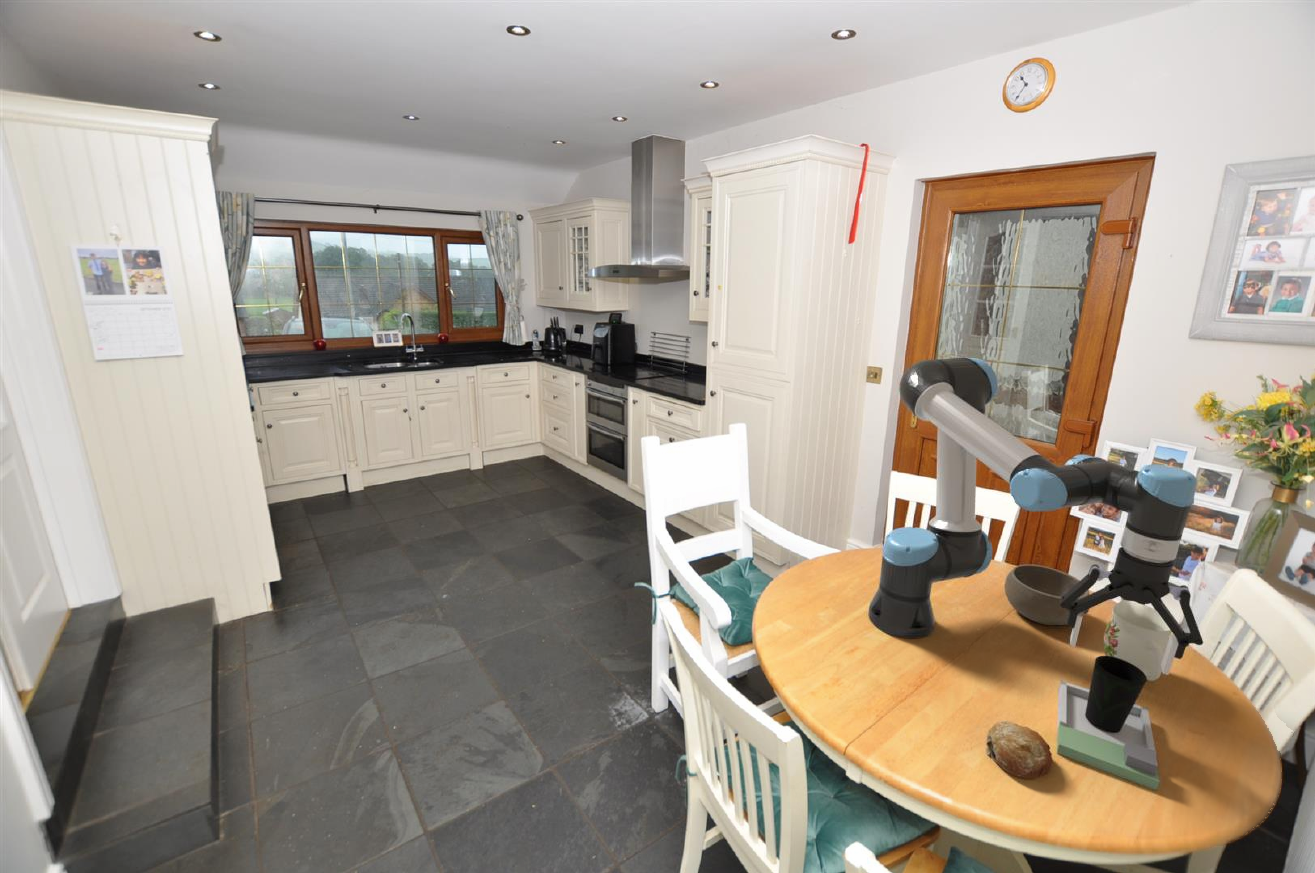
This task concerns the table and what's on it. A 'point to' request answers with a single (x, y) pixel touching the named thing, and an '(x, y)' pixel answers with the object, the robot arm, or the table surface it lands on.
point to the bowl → (1040, 593)
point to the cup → (1113, 692)
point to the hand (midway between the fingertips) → (1116, 655)
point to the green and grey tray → (1106, 739)
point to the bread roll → (1019, 750)
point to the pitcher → (1137, 637)
